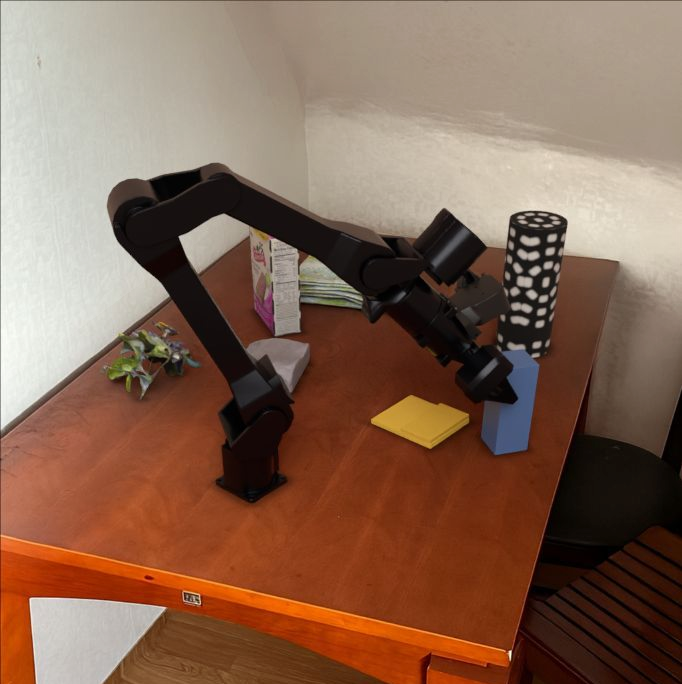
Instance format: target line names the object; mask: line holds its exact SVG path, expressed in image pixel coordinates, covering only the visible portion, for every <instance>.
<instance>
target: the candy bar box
mask: <svg viewBox="0 0 682 684" xmlns="http://www.w3.org/2000/svg"><path fill="white" fill-rule="evenodd" d="M248 229H249V230H248V231H249V245H250V246H249V247H250V259H251V277H252V292H253V295H252V296H253V309H254V311H255V312H256V314H257V315H258V316H259V318H260V320H262V322H263V323H264V325H265V326H266V327H267V328H268V330H269V331H270V332H271V334H272V335H273V337H283V336H288V335H293V334H300V333H302V311H301V310H302V308H301V305H302V303H301V301H300V265H301V263H300V250H298V249H296V248H294V247H292V246H290V245H288V244H285V243H283V242H281V241H279V240H277V239H275V238H273V237H271V236H269V235H267V234H265V233H263V232H261V231H259V230H257V229H255V228H253V227H250V226H248Z"/></svg>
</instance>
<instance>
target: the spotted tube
mask: <svg viewBox="0 0 682 684" xmlns="http://www.w3.org/2000/svg"><path fill="white" fill-rule="evenodd" d="M568 224H569V221H568V219H567V218H566V217H564V216H563V215H561V214H559V213H555V212H550V211H544V210H522V211H517V212H515V213H513V214H511V215H510V216H509V221H508V227H507V228H508V229H507V238H506V246H505V255H504V264H503V273H502V282H501V284H502V285H503V288H504V290H505V293H506V296H507V299H508V301H509V304H510V307H511V308H510V310H509V312H507V313H506V314H504V315H500V316H498V317H497V325H496V326H497V327H496V335H495V342H494V343H495V345H494V346H495V347H496V348H497V349H498V350H499V351H500V352H504V351H512V350H519V349H524V350H525V351H526V352H527V353H528V354H529V355H530V356H531V357H532V358H533V359H534V358H539V357H541V356H544V355H545V354H547V353H548V352H549V350H550V344H551V337H552V331H553V324H554V319H555V318H554V316H555V310H556V305H557V297H558V292H559V291H558V290H559V285H560V284H559V283H560V278H561V270H562V264H563V257H564V252H565V251H564V250H565V245H566V237H567V232H568V231H567V230H568Z"/></svg>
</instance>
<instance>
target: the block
mask: <svg viewBox="0 0 682 684" xmlns="http://www.w3.org/2000/svg"><path fill="white" fill-rule="evenodd" d="M500 352H501V351H500ZM501 353H502V354H503V355H504V356H505V357H506V358H507V359H508V360H509V361H510V362H511V363H512V364H513V365H514V367H513V371H512V372H511V373H510V374H509V375H508V376H507V379H508V381H509V383H510V384H511V386H512V388H513V389H514V391H515V393H516V395H517V396H518V400H517V401H516V402H515V403H514V404H512V405H511V404H505V403H499V402H493V401H484V404H483V415H482V422H481V423H482V424H481V433H480V439H481V440H482V441H483V443H484V444H485V445H486V446H487V447H488V448H489V450H490V451H491V452H492V454H493V455H494V456H498V455H505V454H510V453H516V452H518V453H519V452H525V451H527V450H528V445H529V437H530V433H531V425H532V419H533V413H534V406H535V398H536V391H537V386H538V385H537V384H538V379H539V378H538V377H539V370H540V364H539V363H538V362H537V361H536V359H534V358H532V357H531V356H530V355H529V354H528V353H527V352H526V351H525V350H524V349H519V350H512V351H504V352H501Z"/></svg>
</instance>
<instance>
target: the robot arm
mask: <svg viewBox="0 0 682 684" xmlns="http://www.w3.org/2000/svg"><path fill="white" fill-rule="evenodd" d="M106 210H107V214H108V218H109V221H110V226H111V228H112V232H113V235H114V237H115V239H116V241H117V243H118V244H119V245H120V247H122V248H123V249H124V251H125V252H127V254H128V255H129V256H131V259H133V260H134V261H135V262H136V263H137V264H138V265H139V266H140V267H141V268H142V269H143V270H145V271H146V272H147V273H148V274H150V275H151V276H152V277H154V278H155V279H156V280H157V281H158V282H159V283H160V284H161V286H162V287H163V289H164V291H166V293H167V294H168V296H169V297H170V299H171V300H172V302H173V303H174V305H175V306H176V308H177V309H178V310H179V312H180V314H181V315H182V316H183V318H184V320H185V321H186V322H187V324H188V325H189V327H190V328H191V330H192V331H193V333H194V334H195V336H196V338H197V339H198V340H199V342H200V343H201V345H202V346H203V348H204V349H205V351H206V352H207V354H208V355H209V357H210V359H212V361H213V363H214V364H215V365H216V367H217V368H218V370H219V371H220V373H221V375H222V376H223V377H224V379H225V380H226V383H227V385H228V388H229V390H230V392H231V394H232V397H230V399H229V400H228V401H227V402H226V403H225V404H224V405H223V406H222V407H221V408H220V409H219V410H218V412H217V416H218V419H219V422H220V424H221V426H222V429H223V432H224V435H225V440H224V442H225V443H223V444H221V445H220V447H221V460H222V472H223V475H221V476H219V477H218V478H216V479H215V485H216V486H218V487H220V488H222V489H223V490H226V491H227V492H229V493H230V494H232V495H234V496H236V497H239V498H240V499H242V500H244V501H246V502H247V503H249V504H250V503H251V504H252V503H255V502H257V501H258V500H261V498H263V497H265V496H266V495H268V494H269V493H271V492H273V491H274V490H276V489H278V488H279V487H281V486H282V485H284V484H286V483H287V481H288V478H287V476H286V475H283V474H282V473H280V472H279V471H280V458H279V457H280V455H279V453H280V452H279V447H280V445H281V442H282V440H283V436H284V434H286V433H287V432H288V431H289V429H290V428H291V427H292V424H293V423H294V422H293V421H294V420H295V413H294V410H293V408H292V406H291V405H295V403H296V401H295V399H294V397H293V395H292V393H290V391H289V390H288V388H287V386H286V384H285V382H284V380H283V378H282V376H281V375H279V374H278V373H277V372H276V370H275V368H274V366H273V364H272V362H271V360H270V358H269V356H268V355H267V354H265V355H264V356H263V357H262V358H260V359H259V360H257V359H255V358H254V357H253V356H252V355H251V354H249V352H248V351H247V350H246V349H247V348H246V347H245V345H244V344H243V342H242V340H241V339H240V338H239V336H238V334H237V333H236V331H235V330H234V328H233V326H232V325H231V323H230V322H229V320H228V318H227V317H226V316H225V314H224V313H223V311H222V309H221V308H220V306H219V304H218V303H217V301H216V300H215V298H214V297H213V295H212V294H211V292H210V290H209V289H208V288H207V286H206V284H205V283H204V281H203V279H202V278H201V276H200V275H199V273H198V272H197V270H196V269H195V267H194V265H193V264H192V262H191V261H190V259H189V258H188V256H187V254H186V252H185V249H184V246H183V244H182V242H181V238H180V237H181V236H185V235H187V234H189V233H190V232H192V231H193V230H195V229H197V228H198V227H200V226H201V225H203V224H205V223H207V222H209V221H210V220H212V219H213V218H215V217H218V216H221V215H226V216H228V217H230V218H232V219H234V220H236V221H239V222H240V223H242V224H245V225H246V226H248V227H249V226H250V227H253V228H255V229H257V230H259V231H261V232H263V233H265V234H267V235H269V236H271V237H273V238H275V239H277V240H279V241H281V242H283V243H285V244H288V245H290V246H292V247H294V248H296V249H298V250H299V252H302V253H304V254H306V255H308V256H309V255H310V256H312V257H314V258H316V259H317V260H319V261H320V262H321V263H323V264H324V265H325V266H326V267H327V268H329V269H330V270H331V271H332V272H333V273H334V274H336V275H337V276H338V277H339V278H340V279H342V280H343V281H344V282H346V283H347V284H348V285H350V286H351V287H352V288H354V289H355V290H356V291H358V292H359V293H361V294H362V299H363V302H362V308H361V309H360V311H361V313H362V314H363V315H364V317H365V318H366V319H367V321H368V322H369V323H370V324H372V325H375V324H376V323H377V322H378V321H379V320H380V319H381V317H382V316H383V315H385V314H386V315H387V316H388V317H389V318H390V319H391V320H393V321H394V322H395V324H397V325H398V326H400V328H401V329H403V330H404V331H405V332H406V333H407V334H408V335H409V336H410V337H411V338H412V339H413V340H414V342H415V343H416V344H417V345H418V346H419V347H420V348H421V349H425V350H426V351H427V352H429V353H430V355H432V356H433V358H434V359H435V360H436V361H437V362H438V364H439V365H441V366H442V367H443V368H444V369H445V368H446V367H447V366H448V365H450V363H451V362H457V363H459V364H462V365H461V366H460V367H459V368H458V369H457V371H456V372H454V373H455V374H454V384H455V385H456V386H457V387H458V388H459V390H460V391H461V393H462V394H463V395H464V396H465V397H466V398H467V399H468V400H470V402H472V403H473V404H474V405H479V404H481V403H482V402H485V401H493V402H499V403H505V404H511V405H512V404H514V403H515V402H516V401H517V400H518V396H517V395H516V393H515V391H514V389H513V388H512V386H511V384H510V383H509V381H508V379H507V376H508V375H509V374H510V373H511V372H512V371H513V367H514V365H513V364H512V363H511V362H510V361H509V360H508V359H507V358H506V357H505V356H504V355H503V354H502V353H501V351H499V350H498V349H497V348H496V346H495V345H494V343H489V344H482V345H481V346H480V345H479V344H478V343H477V342H476V341H475V340H477V338H479V336H481V334H482V333H483V331H482V330H481V329H480V328H479V327H481V326H484V325H486V324H488V323H489V322H491V321H493V320H494V319H496V318H498V316H500V315H504V314H506V313H507V312H509V310H510V308H511V307H510V304H509V301H508V299H507V296H506V293H505V290H504V288H503V285H502V282H499V280H497V279H496V277H494V276H493V275H492V274H486V273H485V271H484V272H482V273H480V275H478V274H477V273H476V272H474V270H472V269H471V267H472V266H473V265H474V264H475V262H477V261H478V259H479V258H480V257H481V256H482V255H483V254H484V253H485V252H486V251H487V250H488V249H489V248H488V246H487V244H485V243H484V242H483V241H482V240H481V238H480V237H479V236H478V235H477V234H475V233H474V232H473V230H471V229H470V228H469V227H467V225H466V224H464V223H463V222H462V221H461V220H459V219H458V218H456V216H455V215H454V214H453V213H452V212H451V211H449V210H448V209H447V208H446V207H443V208H441V209H440V210H439V212H438V213H437V214H436V215H435V216H434V218H433V220H432V221H431V223H430V224H429V225H428V226H427V227H426V228H425V229H424V231H423V232H422V233H420V235H419V236H418V237H417V238H416V239H415V240H414V241H413V242H412V243H411V242H410V241H409V240H408V238H406V236H397V235H396V236H395V235H379V233H377V232H376V231H375V230H373V229H370V228H368V227H364V226H361V225H358V224H354V223H351V222H347V221H342V220H341V221H340V220H332V219H328V218H325V217H323V216H320V215H319V214H316V213H315V212H312V211H310V210H308V209H307V208H305V207H302V206H301V205H298V204H297V203H295V202H293V201H292V200H291V201H290V200H289V199H287V198H285V197H283V196H281V195H279V194H277V193H275V192H273V191H271V190H270V189H268V188H266V187H264V186H261V185H260V184H258V183H256V182H254V181H252V180H250V179H248V178H246V177H244V176H242V175H240V174H239V173H236V172H234V171H233V169H231V168H230V167H229V166H228V165H226V164H224V163H221V162H210V163H207V164H204V165H202V166H199V167H196V168H194V169H193V168H192V169H187V170H181V171H176V172H175V171H174V172H169V173H163V174H159V175H157V176H154V177H151V178H148V179H146V180H145V179H142V178H137V177H135V178H126V179H124V180H121V181H119V182H118V183H117V184H116V185H114V186H113V187H112V189H111V191H110V192H109V194H108V197H107V201H106ZM423 273H425V274H426V275H427V276H428V277H430V278H431V280H433V281H434V283H436V284H437V285H438V286H440V287H441V285H443V283H444V284H445V285H446V287H448V288H450V287H451V286H454V285H455V284H456V287H455V288H454V292H455V293H454V294H452V295H451V296H448V295H446V294H444V293H443V292H442V291H441V292H439V291H438V290H436V289H435V288H434V287H433V286H432V285H431V284H430V283H429V282H428V281H427V280H425V279H424V277H422V276H421V275H422V274H423Z"/></svg>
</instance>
